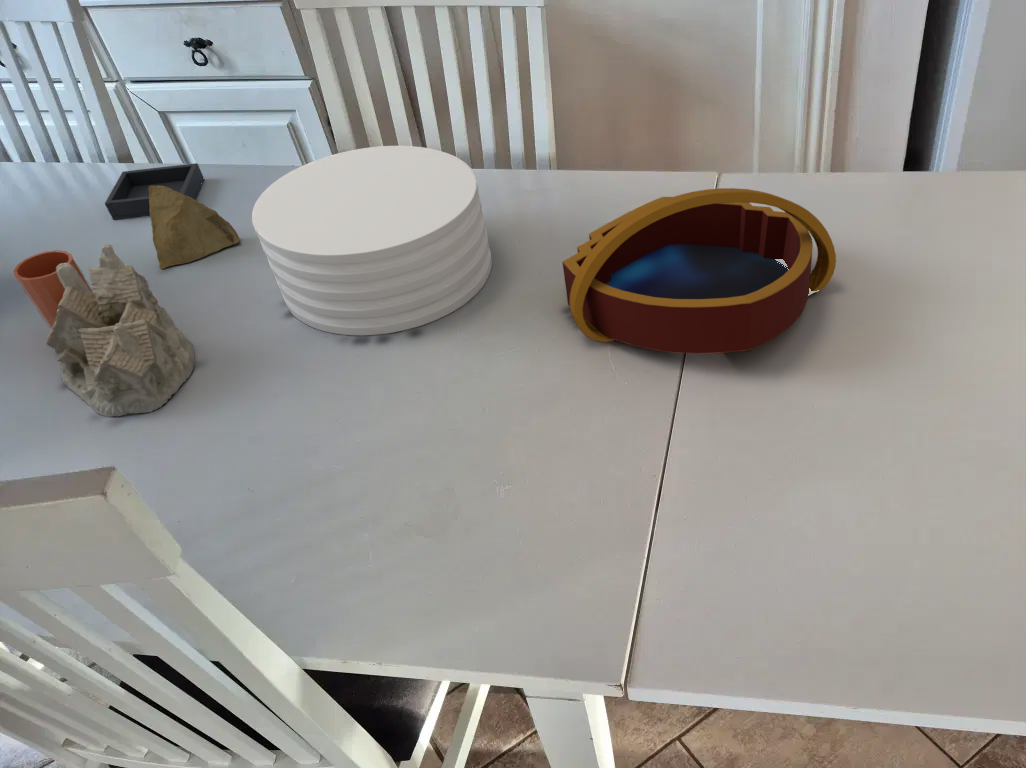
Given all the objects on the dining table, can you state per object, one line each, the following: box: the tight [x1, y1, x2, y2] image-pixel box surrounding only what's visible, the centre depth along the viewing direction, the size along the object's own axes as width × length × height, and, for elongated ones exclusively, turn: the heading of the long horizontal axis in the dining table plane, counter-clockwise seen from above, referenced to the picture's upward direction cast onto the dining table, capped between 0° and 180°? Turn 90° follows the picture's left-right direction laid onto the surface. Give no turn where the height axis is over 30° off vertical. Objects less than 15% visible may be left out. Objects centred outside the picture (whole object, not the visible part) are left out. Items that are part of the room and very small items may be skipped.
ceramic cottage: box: [45, 243, 196, 418], centre depth 96 cm, size 16×16×15 cm
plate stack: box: [251, 145, 493, 336], centre depth 110 cm, size 28×28×12 cm
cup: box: [13, 249, 95, 331], centre depth 104 cm, size 6×6×10 cm
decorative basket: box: [561, 187, 837, 354], centre depth 101 cm, size 34×29×15 cm
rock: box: [149, 185, 241, 270], centre depth 118 cm, size 11×9×10 cm
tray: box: [104, 162, 205, 221], centre depth 131 cm, size 12×11×3 cm
